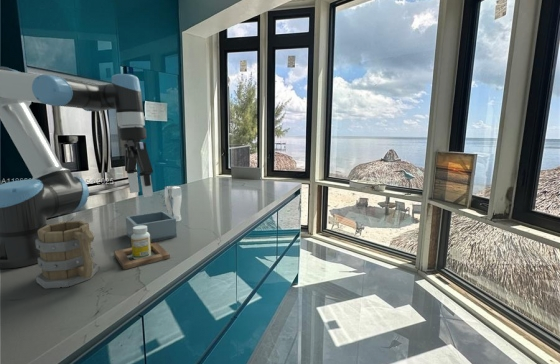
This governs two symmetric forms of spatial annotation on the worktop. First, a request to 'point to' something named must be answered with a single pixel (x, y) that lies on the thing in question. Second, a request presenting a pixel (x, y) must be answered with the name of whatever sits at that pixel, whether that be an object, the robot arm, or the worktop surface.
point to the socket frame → (127, 263)
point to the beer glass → (173, 201)
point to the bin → (153, 225)
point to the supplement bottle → (140, 242)
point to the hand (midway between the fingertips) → (141, 194)
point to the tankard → (65, 254)
